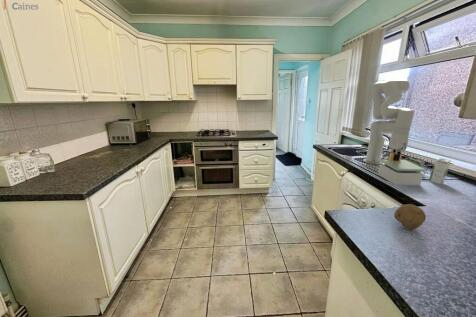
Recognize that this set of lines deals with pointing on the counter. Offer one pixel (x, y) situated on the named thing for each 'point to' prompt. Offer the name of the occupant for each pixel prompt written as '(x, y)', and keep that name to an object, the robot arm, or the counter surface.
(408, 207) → the natural sponge
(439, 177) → the syrup box
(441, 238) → the counter surface
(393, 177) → the tub
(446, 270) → the counter surface
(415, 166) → the lid
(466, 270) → the counter surface
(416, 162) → the food container
